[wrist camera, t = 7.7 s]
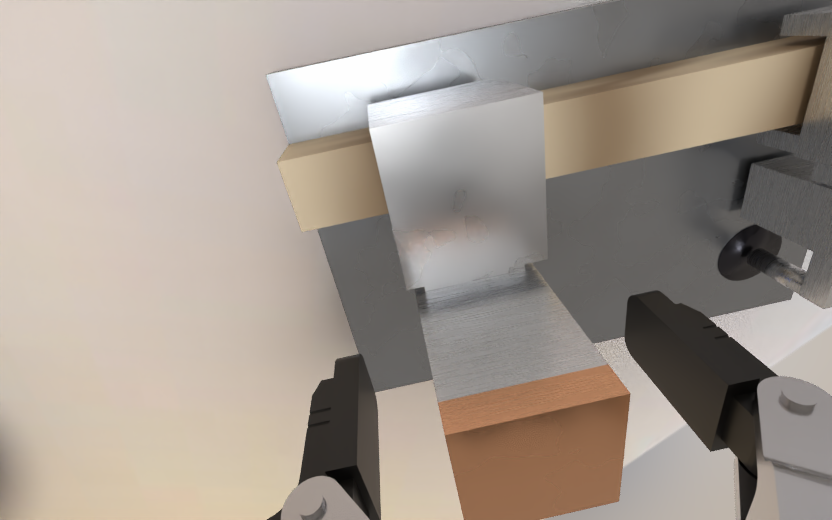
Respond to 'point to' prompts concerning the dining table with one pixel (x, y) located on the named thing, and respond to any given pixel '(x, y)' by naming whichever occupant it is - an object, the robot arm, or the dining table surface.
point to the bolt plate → (568, 194)
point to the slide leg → (497, 304)
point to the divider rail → (591, 123)
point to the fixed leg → (799, 178)
